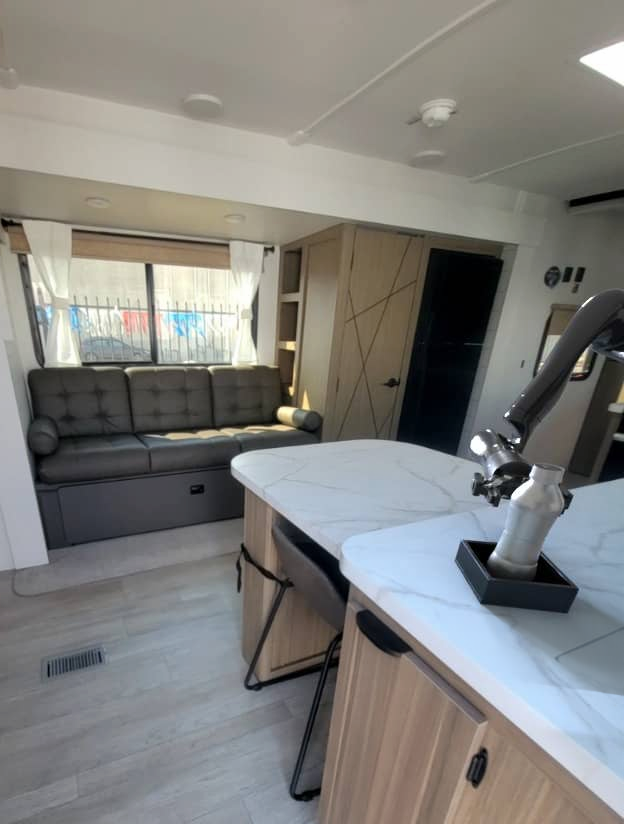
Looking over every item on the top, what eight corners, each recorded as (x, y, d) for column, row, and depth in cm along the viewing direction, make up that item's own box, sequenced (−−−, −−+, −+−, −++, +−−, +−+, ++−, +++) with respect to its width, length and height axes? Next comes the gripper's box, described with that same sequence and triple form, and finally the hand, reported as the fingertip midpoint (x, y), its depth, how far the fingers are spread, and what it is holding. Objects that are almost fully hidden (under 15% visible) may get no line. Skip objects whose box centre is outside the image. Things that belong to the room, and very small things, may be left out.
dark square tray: (528, 567, 72) (536, 545, 70) (567, 613, 61) (579, 589, 59) (454, 560, 73) (461, 539, 71) (480, 603, 62) (488, 579, 60)
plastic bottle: (485, 565, 71) (523, 456, 62) (531, 579, 68) (577, 466, 59) (480, 582, 66) (519, 467, 58) (528, 598, 63) (578, 478, 54)
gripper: (544, 497, 77) (572, 536, 63) (462, 485, 82) (471, 519, 68) (559, 460, 74) (591, 492, 60) (472, 449, 78) (483, 477, 65)
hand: (527, 506), depth 64 cm, fingers open, 8 cm apart
